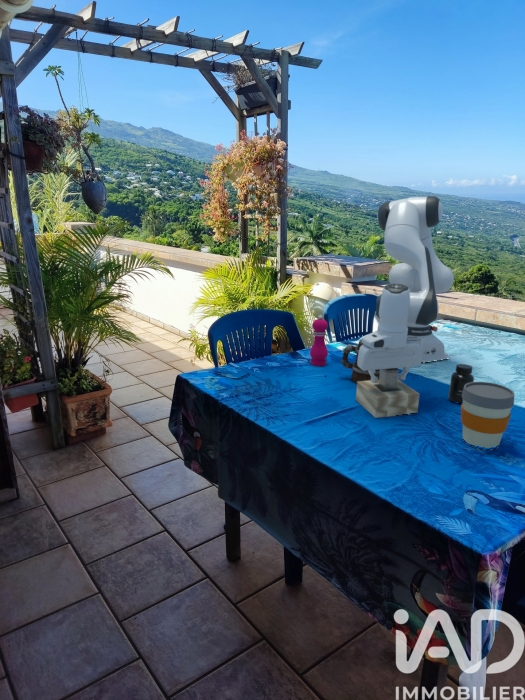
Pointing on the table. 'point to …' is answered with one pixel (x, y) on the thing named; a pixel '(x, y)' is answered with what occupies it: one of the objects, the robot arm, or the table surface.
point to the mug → (357, 372)
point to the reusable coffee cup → (485, 413)
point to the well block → (387, 399)
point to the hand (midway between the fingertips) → (387, 381)
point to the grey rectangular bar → (388, 379)
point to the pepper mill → (319, 342)
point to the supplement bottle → (460, 382)
